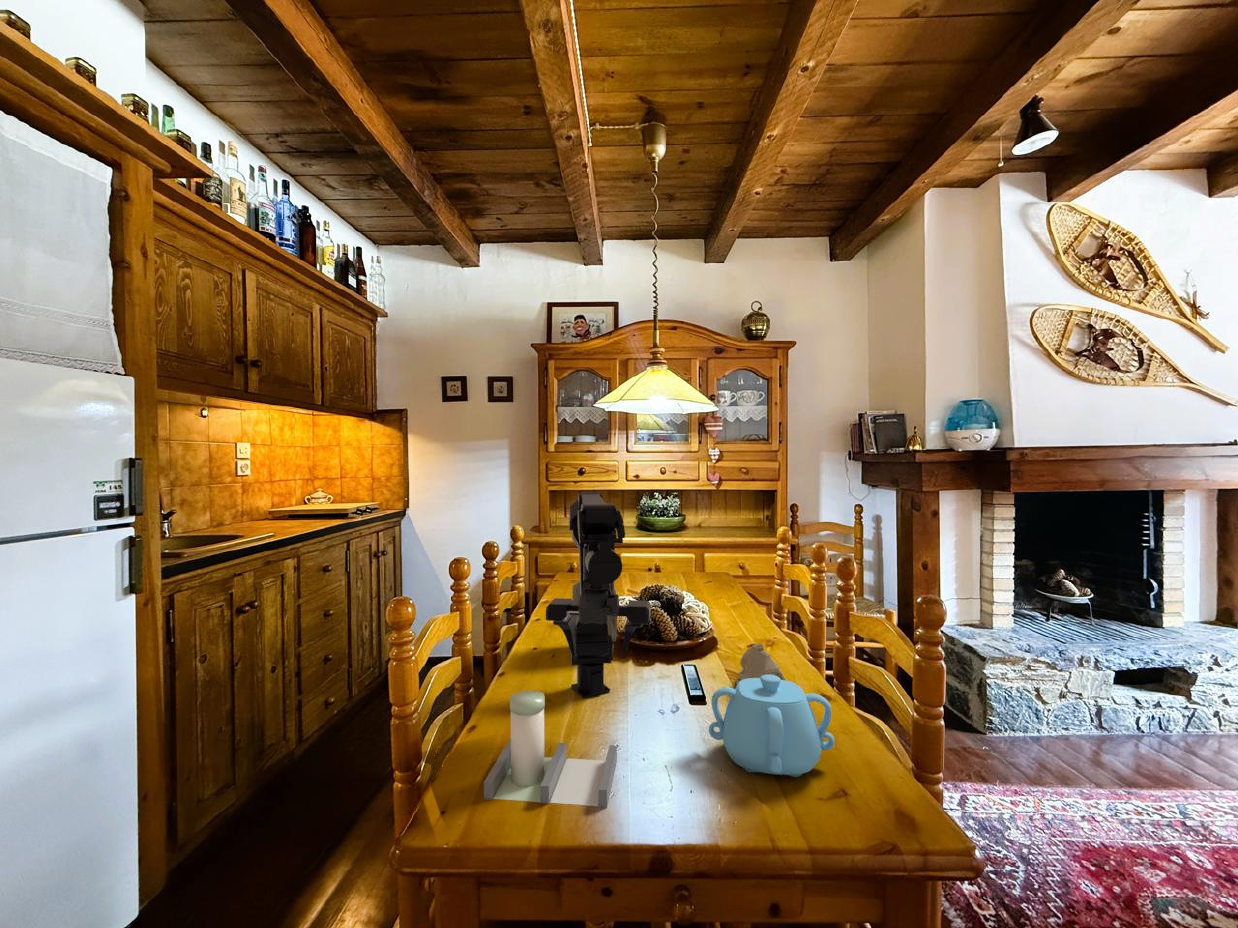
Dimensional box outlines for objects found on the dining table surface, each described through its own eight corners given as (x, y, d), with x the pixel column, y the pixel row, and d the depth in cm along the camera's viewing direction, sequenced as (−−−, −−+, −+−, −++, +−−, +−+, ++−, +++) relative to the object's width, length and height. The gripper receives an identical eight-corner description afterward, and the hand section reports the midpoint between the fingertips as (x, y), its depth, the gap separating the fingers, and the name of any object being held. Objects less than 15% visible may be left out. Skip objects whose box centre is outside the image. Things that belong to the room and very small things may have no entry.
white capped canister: (506, 772, 85) (505, 694, 85) (538, 763, 87) (537, 687, 87) (516, 790, 80) (516, 707, 80) (550, 780, 83) (549, 700, 83)
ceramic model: (799, 704, 112) (799, 655, 111) (745, 707, 110) (745, 657, 110) (772, 677, 126) (772, 633, 125) (724, 679, 124) (724, 635, 124)
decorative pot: (823, 735, 99) (823, 660, 99) (848, 802, 79) (848, 708, 79) (709, 726, 102) (709, 653, 102) (707, 787, 83) (707, 697, 83)
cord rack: (509, 760, 90) (509, 739, 90) (616, 767, 88) (616, 745, 88) (483, 806, 78) (483, 781, 78) (606, 815, 76) (606, 790, 76)
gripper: (537, 580, 94) (537, 671, 94) (647, 583, 92) (647, 676, 92) (552, 568, 105) (552, 649, 105) (650, 570, 103) (650, 653, 103)
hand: (598, 657), depth 101 cm, fingers open, 9 cm apart
